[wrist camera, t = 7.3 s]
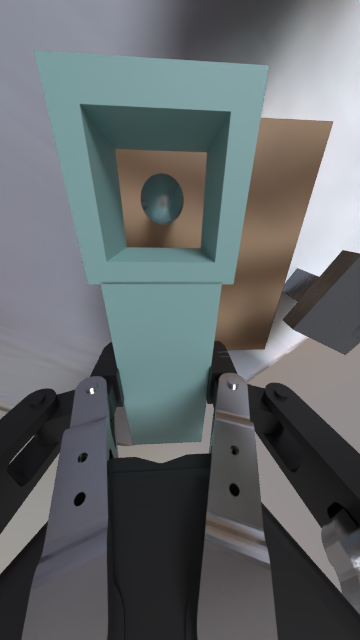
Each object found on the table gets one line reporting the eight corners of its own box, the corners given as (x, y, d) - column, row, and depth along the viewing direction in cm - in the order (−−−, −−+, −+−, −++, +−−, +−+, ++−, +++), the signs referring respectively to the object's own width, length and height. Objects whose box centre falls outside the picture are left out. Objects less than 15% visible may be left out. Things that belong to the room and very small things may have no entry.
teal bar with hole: (200, 396, 15) (207, 441, 12) (134, 398, 15) (125, 444, 12) (228, 127, 7) (269, 65, 4) (91, 120, 7) (33, 50, 4)
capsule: (152, 191, 15) (138, 172, 8) (177, 192, 15) (184, 173, 8) (153, 220, 16) (142, 224, 9) (177, 220, 16) (183, 224, 9)
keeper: (244, 285, 19) (292, 329, 12) (277, 237, 17) (362, 254, 9) (289, 308, 20) (356, 360, 13) (324, 268, 18) (427, 302, 11)
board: (107, 119, 12) (101, 110, 11) (320, 128, 13) (333, 121, 12) (135, 345, 22) (134, 352, 21) (260, 343, 23) (264, 349, 22)
